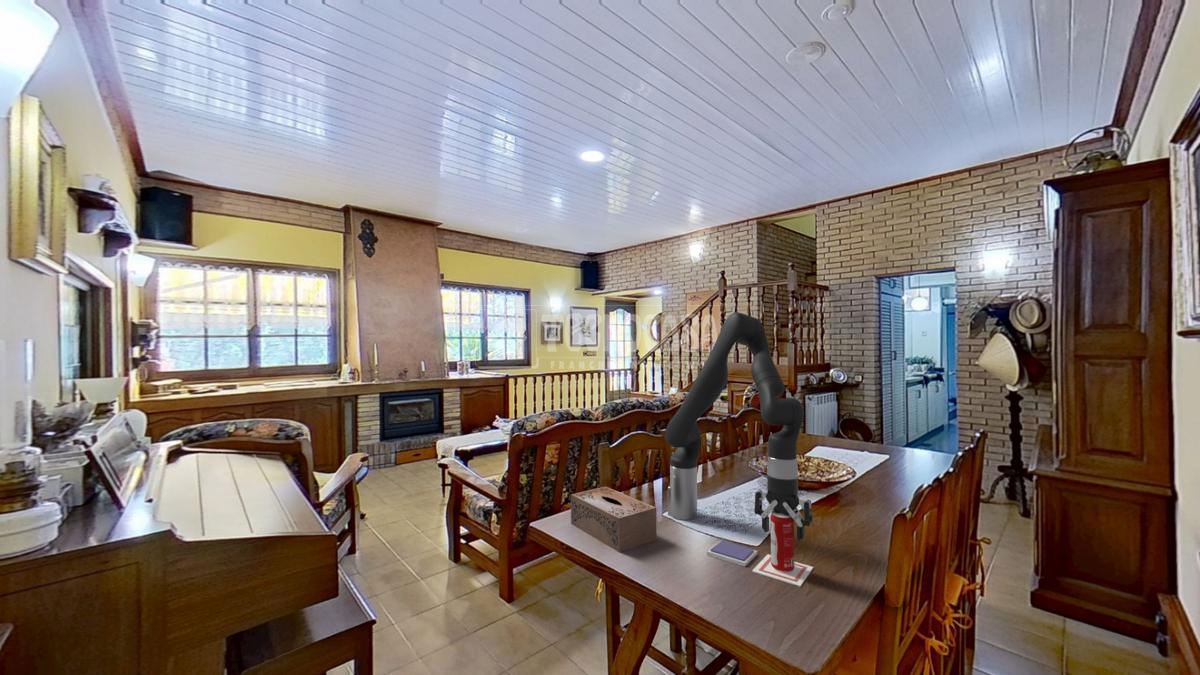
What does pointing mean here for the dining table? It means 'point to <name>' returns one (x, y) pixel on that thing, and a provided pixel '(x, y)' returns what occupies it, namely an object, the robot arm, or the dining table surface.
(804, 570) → the marked card
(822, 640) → the dining table surface
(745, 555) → the ink pad
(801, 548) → the dining table surface
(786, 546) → the beverage can
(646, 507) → the tissue box cover
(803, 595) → the dining table surface
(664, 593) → the dining table surface
